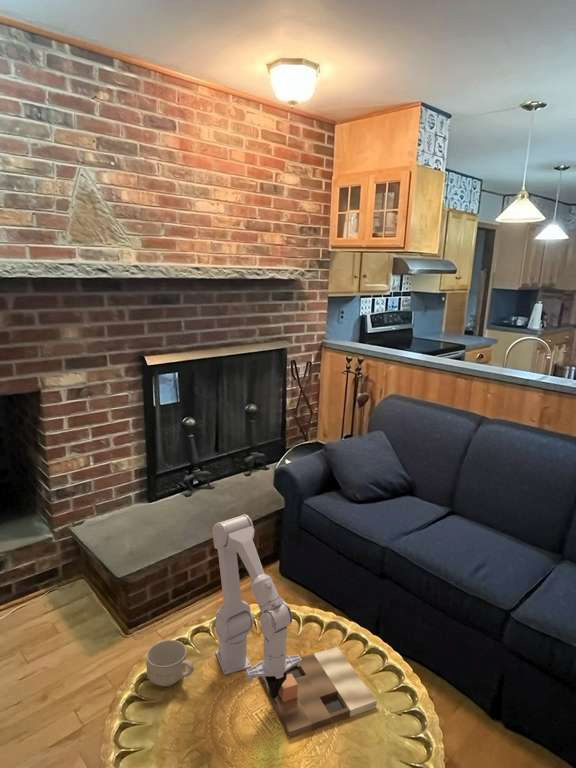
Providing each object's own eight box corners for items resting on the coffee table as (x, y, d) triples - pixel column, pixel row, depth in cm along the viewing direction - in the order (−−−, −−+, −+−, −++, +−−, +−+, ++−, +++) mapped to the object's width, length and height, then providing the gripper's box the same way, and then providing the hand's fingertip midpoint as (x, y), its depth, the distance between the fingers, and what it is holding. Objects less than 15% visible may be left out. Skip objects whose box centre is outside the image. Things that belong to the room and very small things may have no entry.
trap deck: (258, 675, 137) (259, 669, 137) (337, 652, 147) (337, 646, 147) (288, 739, 118) (289, 732, 118) (376, 707, 128) (376, 700, 128)
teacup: (138, 680, 134) (137, 654, 133) (168, 656, 143) (168, 632, 142) (173, 705, 127) (173, 679, 125) (203, 679, 135) (203, 654, 134)
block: (277, 690, 130) (277, 677, 129) (291, 686, 132) (291, 673, 131) (283, 702, 126) (283, 688, 126) (297, 697, 128) (297, 684, 127)
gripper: (253, 668, 118) (251, 716, 121) (307, 652, 124) (305, 698, 127) (243, 648, 124) (242, 694, 127) (296, 634, 130) (293, 678, 133)
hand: (273, 695), depth 127 cm, fingers closed
